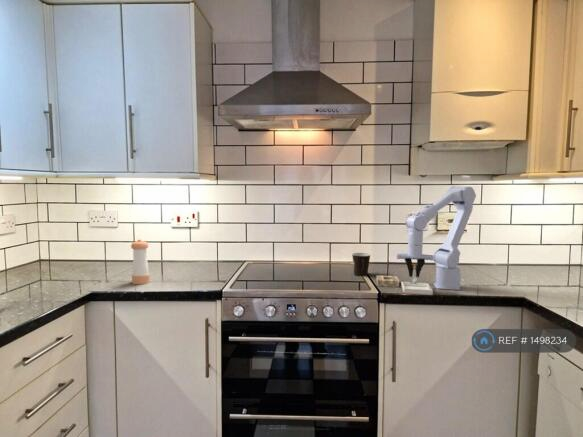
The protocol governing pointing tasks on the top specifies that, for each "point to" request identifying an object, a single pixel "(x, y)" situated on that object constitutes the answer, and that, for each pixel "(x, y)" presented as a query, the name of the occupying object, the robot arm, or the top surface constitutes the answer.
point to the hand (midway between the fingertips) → (414, 276)
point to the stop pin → (414, 274)
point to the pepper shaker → (140, 263)
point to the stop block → (387, 281)
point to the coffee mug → (361, 263)
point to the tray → (416, 288)
